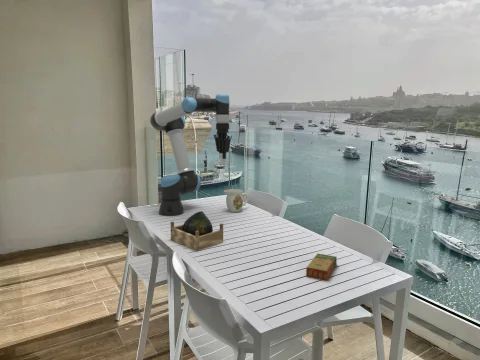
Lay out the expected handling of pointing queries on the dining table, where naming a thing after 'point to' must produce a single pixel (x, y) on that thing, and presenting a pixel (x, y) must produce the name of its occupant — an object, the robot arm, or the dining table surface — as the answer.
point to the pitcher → (235, 199)
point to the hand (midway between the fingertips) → (222, 164)
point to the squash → (198, 224)
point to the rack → (196, 237)
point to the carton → (321, 267)
